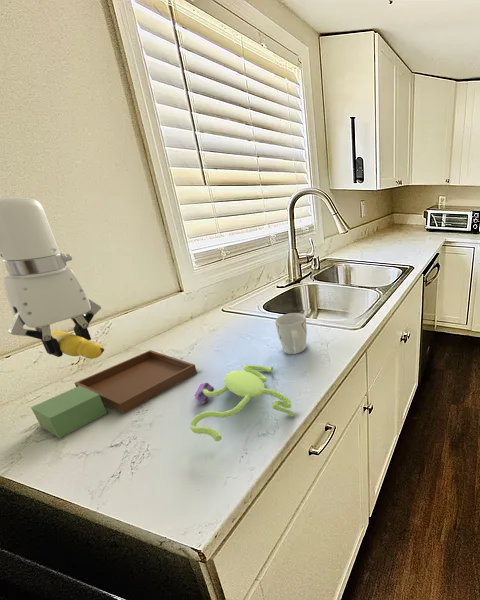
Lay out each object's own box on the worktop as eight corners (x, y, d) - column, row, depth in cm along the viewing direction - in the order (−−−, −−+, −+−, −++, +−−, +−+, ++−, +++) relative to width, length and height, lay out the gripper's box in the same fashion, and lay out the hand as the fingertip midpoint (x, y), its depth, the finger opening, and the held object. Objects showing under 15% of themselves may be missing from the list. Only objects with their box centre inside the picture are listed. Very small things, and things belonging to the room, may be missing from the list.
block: (40, 426, 68) (30, 407, 66) (87, 403, 75) (79, 385, 73) (59, 438, 65) (49, 418, 63) (106, 413, 72) (99, 394, 70)
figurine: (197, 464, 59) (189, 440, 57) (192, 388, 80) (187, 369, 78) (299, 424, 68) (295, 402, 66) (271, 365, 89) (267, 347, 87)
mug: (314, 356, 93) (310, 325, 89) (283, 364, 90) (278, 331, 86) (306, 339, 103) (302, 310, 99) (278, 346, 99) (273, 316, 96)
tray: (78, 392, 79) (74, 383, 78) (153, 357, 94) (150, 349, 93) (123, 413, 72) (119, 404, 71) (197, 372, 86) (194, 364, 85)
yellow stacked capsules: (38, 348, 70) (32, 331, 69) (64, 340, 74) (59, 324, 73) (82, 365, 64) (76, 347, 62) (108, 356, 67) (103, 338, 66)
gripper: (80, 254, 70) (108, 330, 77) (-40, 274, 56) (6, 366, 63) (100, 257, 68) (126, 336, 74) (-22, 279, 53) (25, 374, 60)
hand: (71, 349), depth 68 cm, fingers closed on yellow stacked capsules, 4 cm apart
